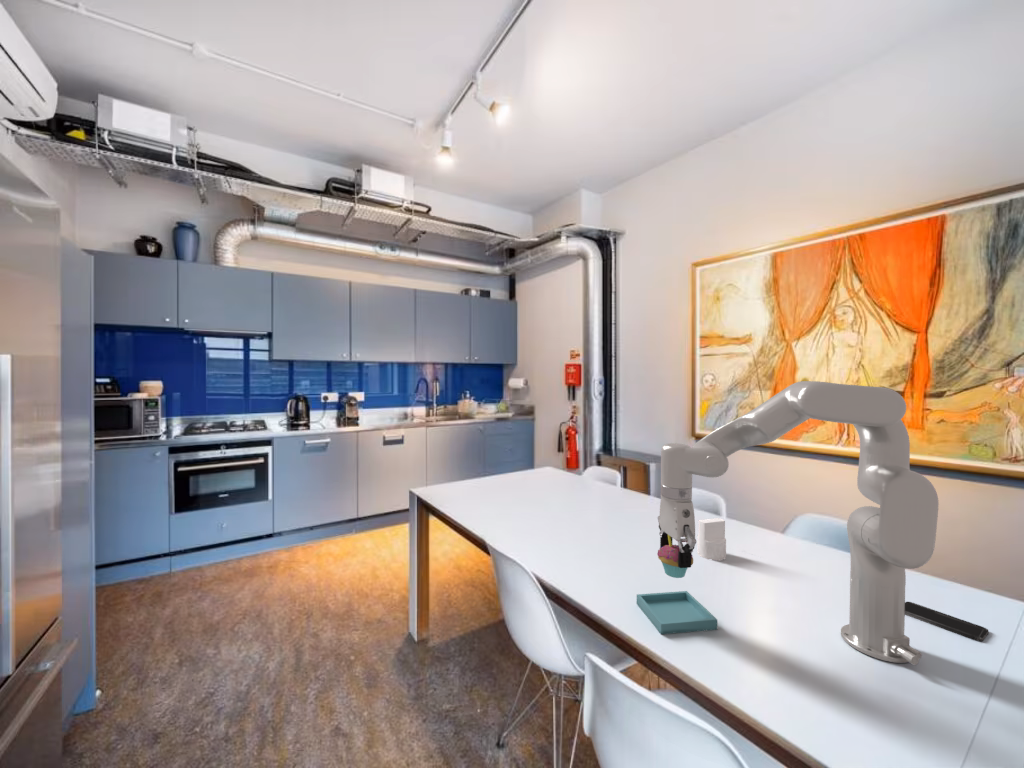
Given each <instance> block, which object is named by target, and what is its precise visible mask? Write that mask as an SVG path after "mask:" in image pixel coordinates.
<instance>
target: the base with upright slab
mask: <svg viewBox="0 0 1024 768" xmlns="http://www.w3.org/2000/svg"><path fill="white" fill-rule="evenodd" d="M696 537H697V539H696V544H697V545H696V546H697V548H696V549H697V551H696V552H697V553H696V554H697V555H698V556H700V557H701V558H703V559H706V560H709V559H712V560H711V561H717V560H719V561H723V560H722V559H724V560H726V558H727V539H726V520H725V519H722V518H720V517H716V518H708V519H707V518H706V519H699V520H698V534H697V536H696Z"/></svg>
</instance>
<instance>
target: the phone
mask: <svg viewBox="0 0 1024 768" xmlns="http://www.w3.org/2000/svg"><path fill="white" fill-rule="evenodd" d="M905 616H908V617H909V618H910V617H911V618H912V619H915V620H919V621H920V622H924V623H927V624H929V625H931V626H934V627H937V628H939V629H943V630H945V631H947V632H951V633H953V634H956V635H959V636H961V637H965V638H966V639H969V640H972V641H975V642H981V643H982V642H984V640H985V639H986V637H988V635H989V629H988V628H987V627H984V626H981V625H979V624H975V623H972V622H969V621H968V620H967V621H966V620H965V619H961V618H958V617H955V616H952V615H950V614H947V613H945V612H941V611H937V610H935V609H933V608H929V607H927V606H924V605H920V604H917V603H914V602H911V601H905Z"/></svg>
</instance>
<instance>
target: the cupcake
mask: <svg viewBox="0 0 1024 768" xmlns="http://www.w3.org/2000/svg"><path fill="white" fill-rule="evenodd" d="M668 540H669V545H665V546H663V547H661V548H660V547H659V549H658V550H657V558H658V560H660V562H661V564H662V567H663V569H664V574H666V575H667V576H668V577H671V578H674V579H680V578H684V577H685V576H686V572H687V570H688V568H679V567H678V551H680V549H679V545H678V544H673V542H672V543H671V536H669V535H668ZM693 564H694V556H693V553H691V566H693Z"/></svg>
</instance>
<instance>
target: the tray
mask: <svg viewBox="0 0 1024 768" xmlns="http://www.w3.org/2000/svg"><path fill="white" fill-rule="evenodd" d="M636 605H637V606H638V607H639V609H640V610H641V611H642V613H643V614H644V615H645V617H646V618H647V619H648V620H649V621H650V622H651V624H652V626H653V627H655V629H656V630H657V632H658V633H659V634H660V635H669V634H670V635H671V634H680V633H681V634H682V633H693V632H702V631H703V632H706V630H707V631H716V630H718V619H717V618H716V617H715V616H714V615H713V614H712V613H711V612H710V611H709V610H707V609H706V607H705V606H703V604H701V603H700V602H699V601H698V600H697V599H696V598H695V596H693V595H692V594H691V593H690V592H689V591H688V590H684V591H683V590H682V591H680V590H679V591H667V592H655V593H640V594H639V593H638V594H636ZM704 630H705V631H704Z"/></svg>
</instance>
